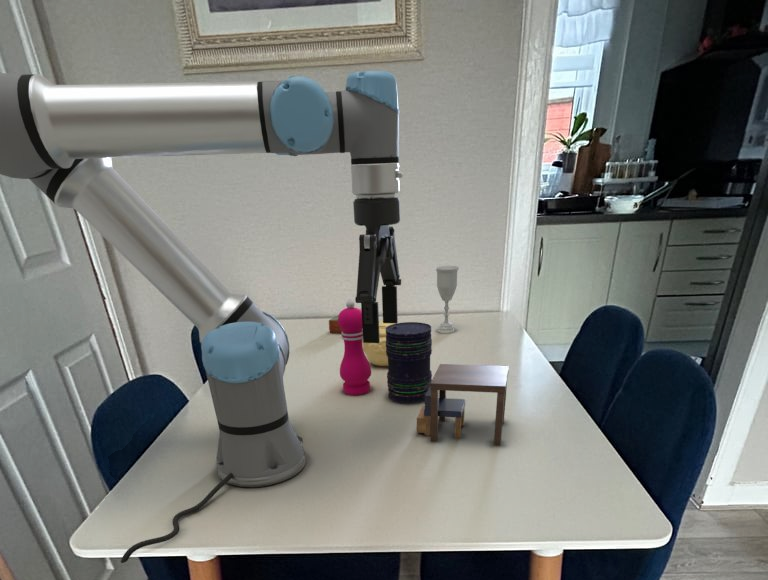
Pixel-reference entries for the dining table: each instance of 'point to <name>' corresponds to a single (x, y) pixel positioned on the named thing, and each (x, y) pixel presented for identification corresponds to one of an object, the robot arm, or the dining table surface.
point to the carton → (335, 325)
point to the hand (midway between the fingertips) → (381, 332)
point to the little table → (469, 389)
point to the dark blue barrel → (408, 361)
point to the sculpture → (378, 347)
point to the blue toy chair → (441, 413)
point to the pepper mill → (353, 352)
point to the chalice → (446, 291)
